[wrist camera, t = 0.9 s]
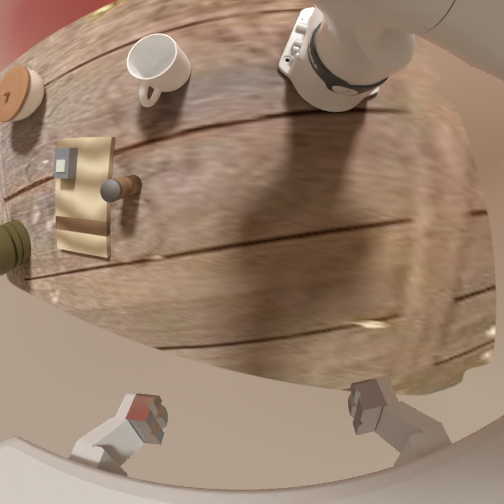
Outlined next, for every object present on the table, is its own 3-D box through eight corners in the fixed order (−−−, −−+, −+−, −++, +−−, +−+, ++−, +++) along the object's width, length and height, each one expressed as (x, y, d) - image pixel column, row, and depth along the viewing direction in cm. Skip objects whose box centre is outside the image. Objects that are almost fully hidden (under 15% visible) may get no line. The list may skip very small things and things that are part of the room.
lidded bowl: (13, 115, 42) (-18, 114, 32) (32, 68, 38) (3, 61, 28) (38, 129, 44) (6, 128, 33) (60, 77, 40) (29, 68, 30)
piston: (5, 276, 42) (-14, 282, 43) (36, 257, 54) (14, 265, 55) (-10, 227, 39) (-28, 239, 40) (23, 214, 50) (2, 226, 51)
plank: (62, 138, 45) (58, 138, 44) (115, 137, 45) (111, 136, 44) (61, 246, 53) (57, 248, 51) (110, 255, 53) (107, 257, 52)
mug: (175, 116, 44) (155, 106, 35) (136, 106, 44) (110, 97, 34) (198, 58, 41) (185, 37, 31) (159, 51, 40) (139, 31, 30)
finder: (64, 148, 44) (54, 148, 41) (78, 147, 44) (68, 147, 41) (62, 176, 46) (52, 178, 43) (76, 177, 46) (66, 178, 43)
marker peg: (125, 174, 48) (100, 178, 39) (142, 175, 48) (119, 180, 39) (124, 193, 49) (99, 201, 40) (141, 195, 49) (118, 203, 40)
